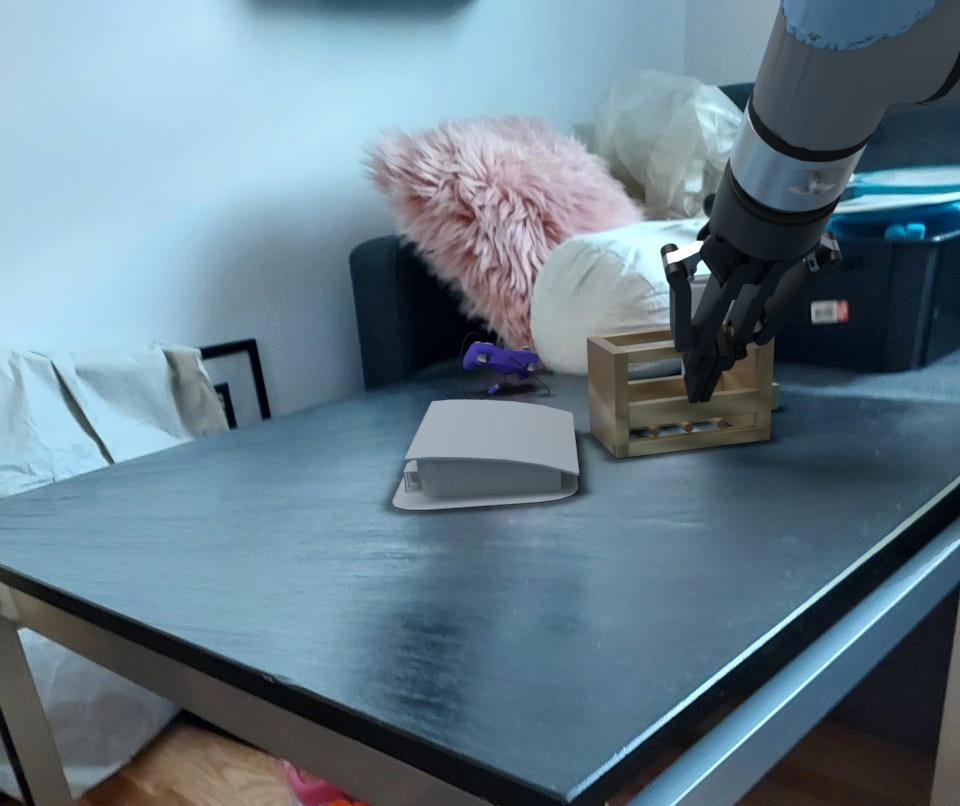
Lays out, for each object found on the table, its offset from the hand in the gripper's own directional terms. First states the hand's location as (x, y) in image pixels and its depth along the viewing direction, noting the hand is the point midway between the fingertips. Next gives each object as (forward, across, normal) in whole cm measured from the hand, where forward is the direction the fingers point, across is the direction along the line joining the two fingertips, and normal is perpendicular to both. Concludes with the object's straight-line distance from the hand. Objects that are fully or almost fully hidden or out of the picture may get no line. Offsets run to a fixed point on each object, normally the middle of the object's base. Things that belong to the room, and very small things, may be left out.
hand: (696, 389), depth 82 cm
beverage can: (+18, +7, +10) cm, 22 cm away
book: (+6, -18, -3) cm, 19 cm away
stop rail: (+11, +6, +4) cm, 13 cm away
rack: (+7, 0, 0) cm, 7 cm away
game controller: (+27, -13, +18) cm, 35 cm away
